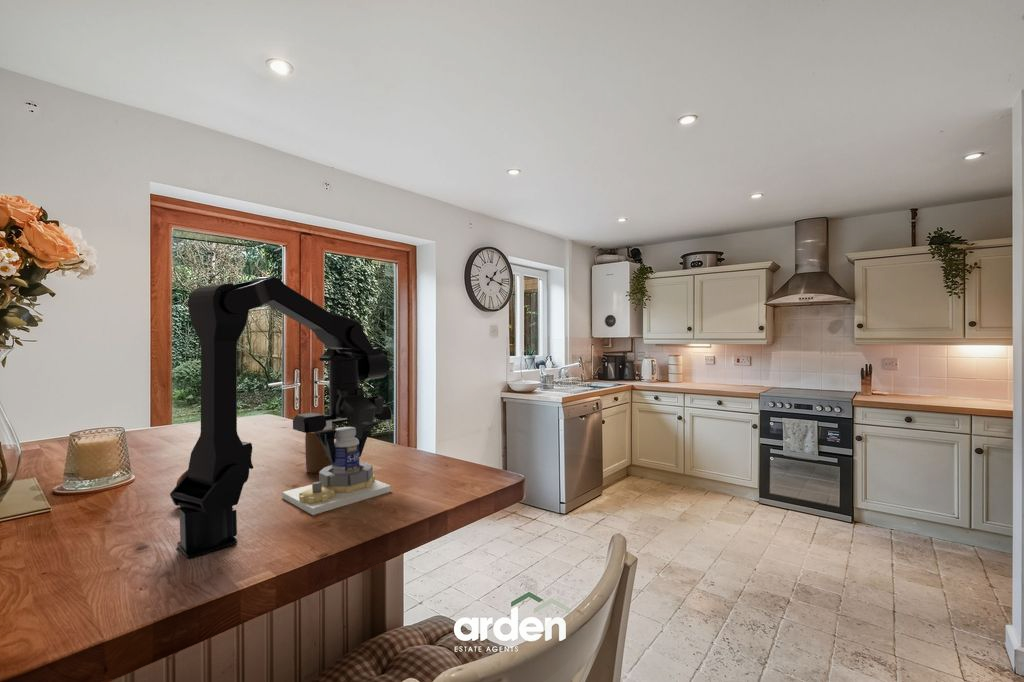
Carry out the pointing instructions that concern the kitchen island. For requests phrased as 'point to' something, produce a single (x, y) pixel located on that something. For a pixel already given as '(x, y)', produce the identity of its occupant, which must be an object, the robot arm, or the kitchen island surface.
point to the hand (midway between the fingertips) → (345, 459)
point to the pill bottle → (346, 451)
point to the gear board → (336, 490)
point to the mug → (315, 453)
